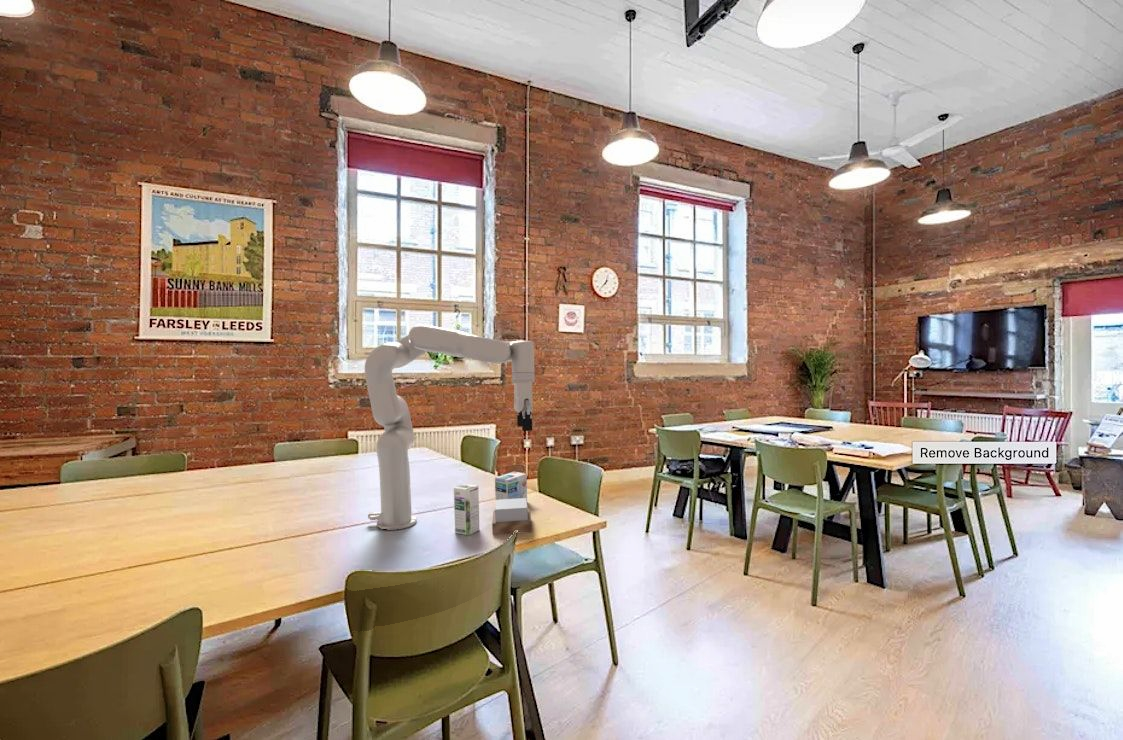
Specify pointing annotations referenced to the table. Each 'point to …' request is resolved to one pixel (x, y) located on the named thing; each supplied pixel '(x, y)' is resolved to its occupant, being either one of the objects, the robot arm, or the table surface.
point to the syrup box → (466, 509)
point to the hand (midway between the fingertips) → (524, 428)
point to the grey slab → (511, 510)
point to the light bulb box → (511, 486)
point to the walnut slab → (511, 525)
